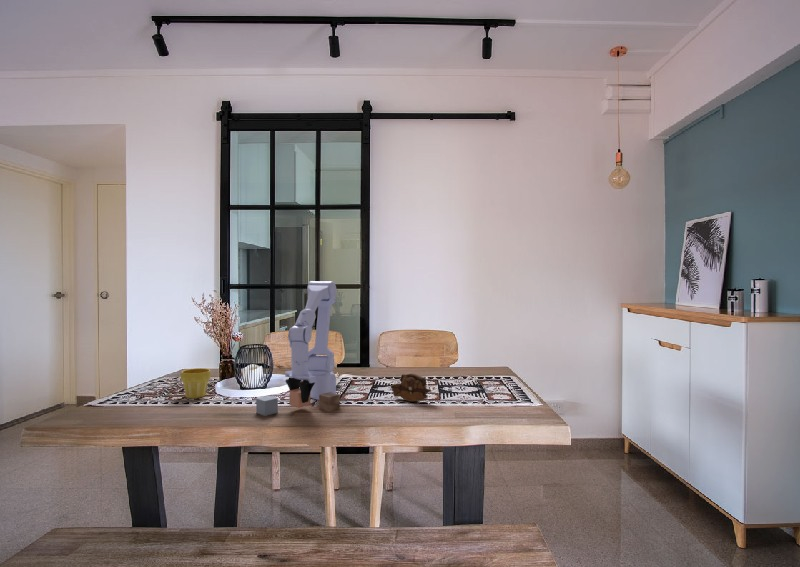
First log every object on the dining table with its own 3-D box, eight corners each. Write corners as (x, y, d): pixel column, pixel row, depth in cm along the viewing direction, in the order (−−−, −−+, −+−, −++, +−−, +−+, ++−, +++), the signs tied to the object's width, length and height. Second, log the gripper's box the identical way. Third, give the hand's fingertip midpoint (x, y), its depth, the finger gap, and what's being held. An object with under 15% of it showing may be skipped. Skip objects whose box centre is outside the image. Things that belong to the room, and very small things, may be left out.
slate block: (269, 409, 157) (269, 395, 157) (277, 412, 153) (277, 398, 153) (256, 413, 153) (256, 398, 153) (264, 416, 150) (264, 401, 150)
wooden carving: (388, 399, 170) (388, 373, 169) (394, 397, 174) (394, 370, 174) (428, 405, 162) (428, 377, 162) (433, 402, 166) (433, 375, 166)
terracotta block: (301, 402, 160) (301, 387, 159) (310, 404, 156) (310, 390, 156) (289, 405, 156) (289, 390, 156) (298, 407, 152) (298, 392, 152)
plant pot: (215, 393, 179) (215, 368, 179) (201, 400, 169) (201, 373, 168) (190, 392, 180) (190, 367, 180) (175, 399, 170) (175, 373, 169)
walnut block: (330, 406, 162) (330, 392, 162) (339, 408, 158) (339, 394, 158) (319, 409, 158) (319, 394, 158) (328, 411, 155) (328, 397, 154)
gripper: (277, 360, 157) (277, 399, 158) (303, 365, 148) (303, 407, 148) (294, 357, 163) (294, 395, 163) (320, 362, 153) (320, 402, 154)
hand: (300, 400), depth 156 cm, fingers closed on terracotta block, 5 cm apart
